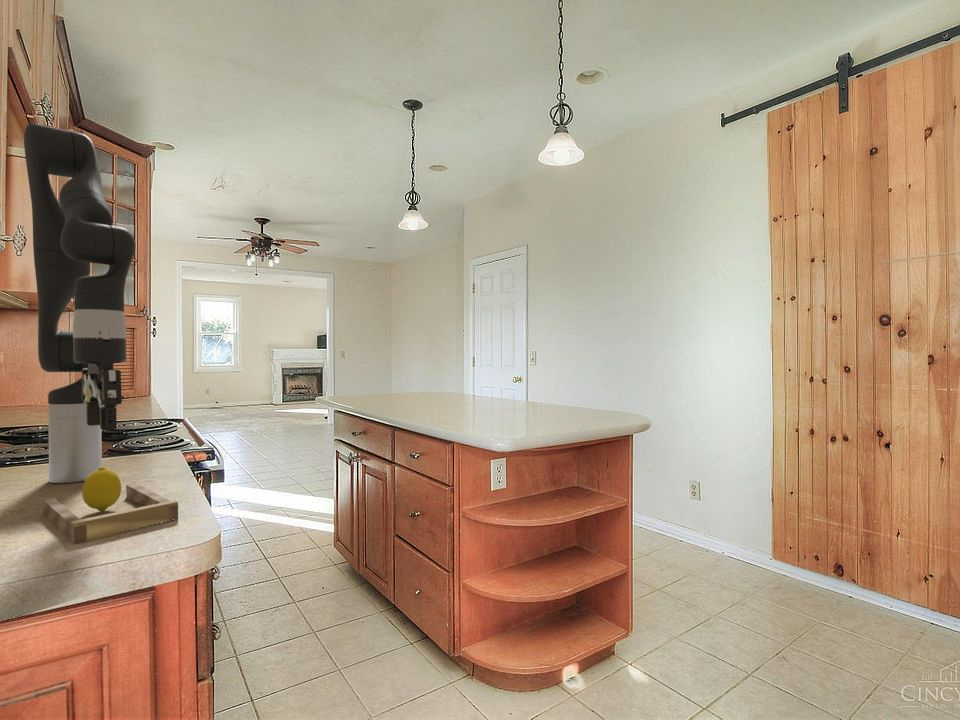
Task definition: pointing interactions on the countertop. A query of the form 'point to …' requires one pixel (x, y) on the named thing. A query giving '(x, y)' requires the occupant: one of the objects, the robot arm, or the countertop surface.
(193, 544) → the countertop surface
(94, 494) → the lemon
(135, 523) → the brown wooden u-shaped frame
